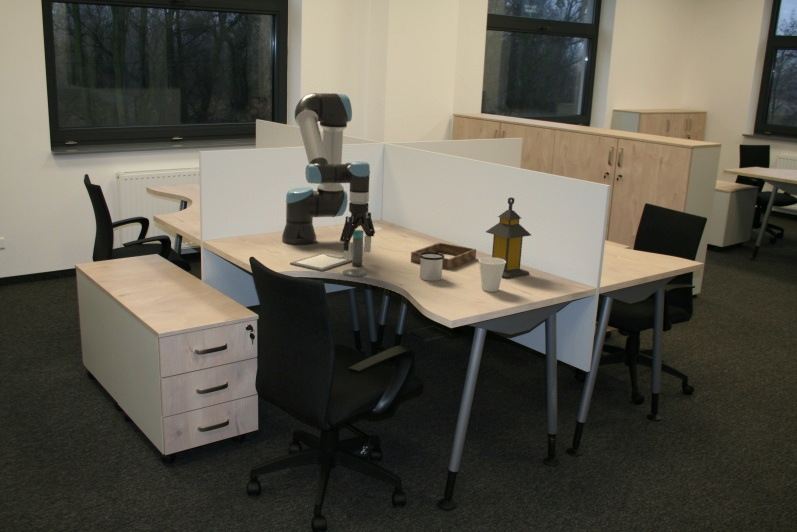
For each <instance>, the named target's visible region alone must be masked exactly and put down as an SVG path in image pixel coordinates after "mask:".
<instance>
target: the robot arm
mask: <svg viewBox="0 0 797 532" xmlns="http://www.w3.org/2000/svg"><path fill="white" fill-rule="evenodd" d="M352 109H353V107H352V103H351V100H350V98H349V97H348V95H346V94H342V93H336V92H335V93H334V92H333V93H327V92H324V93H323V92H321V93H319V92H318V93H317V92H311V93H308V94H306V95H305V96H303V97H302V98H300V100H299V101H298V103H297V105H296V106H295V109H294V120H295V121H294V122H295V124H296V126H298V127H299V131H300V134H301V138H302V143H303V146H304V150H305V153H306V157H307V162H308V164H307V165H306V166H305V179H306V182H307V183H308V184H318V185H317V188H316V189H317V190H314V188H312V187H305V186H304V187H303V186H302V187H297V188H292V189H290V190H288V191H287V192H286V194H285V195H286V196H285V197H286V198H285V204H286V205H285V206H286V207H285V208H286V209H285V214H286V215H285V226H284V229H283V233H282V235H281V240H282V242H283V243H286V244H290V245H310V244H314V243H316V242H317V235H316V231H315V228H314V223H313V222H314V221H313V219H314V218H335V217H336V218H337V217H341V216H343V215H344V214H345V212H346V211H347V206H349V207H348V211H349V213H350V216H345V222H344V225H343V228H342V232H341V235H340V237H339V241H340V242H342V243H343V257H344V258H346V259H350V260H352V259H351V258H352V256H351V254H352V253H351V252H352V242H350V241H351V240H352V239H353V233H354V231H355V230H357V229H358V228H359V227H361V228H362V231H363V233H365V235H364V236H363V252H364V253H368V254H369V253H370V254H371V251H372V250H371V249H372V244H371V243H372V237H375V234H376V230H375V227H374V223H373V220H372V212H369V207H370V206H369V201H370V175H371V171H370V170H371V169H370V168H371V167H370V164H369V163H368V162H366V161H352V162H345V163H343V162H342V159H343V158H342V157H343V140H344V130H345V129H346V128H347V127H348V123H349V122H351V121H352V117H353V110H352ZM318 122H319V124H318ZM319 126H320V128H322V132H323V133H322V135H321V131H320V128H319ZM342 184H349V203H348V193H347V191H346V190H344V188H345V187H344V186H343V185H342Z"/></svg>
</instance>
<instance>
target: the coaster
mask: <svg viewBox="0 0 797 532" xmlns="http://www.w3.org/2000/svg"><path fill="white" fill-rule="evenodd" d="M342 275H343V276H347V277H351V278H352V277H354V278H359V277H364V275H365V276H366V275H367V271H366V270H364V269H357V268H349V269H345V270H342Z"/></svg>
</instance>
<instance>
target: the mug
mask: <svg viewBox="0 0 797 532" xmlns="http://www.w3.org/2000/svg"><path fill="white" fill-rule="evenodd" d="M419 256H420V258H421V263H419V264H420V266H419V267H420V268H419V278H420V279H421V280H422V281H427V282H437V281H440V280H442V277H443V268H442V263H443V259H444V258H445V254H444V253H441V252H439V253H435V252H424V253H421V254H420V255H419Z"/></svg>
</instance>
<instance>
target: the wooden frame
mask: <svg viewBox="0 0 797 532" xmlns="http://www.w3.org/2000/svg"><path fill="white" fill-rule="evenodd" d="M424 252H435V253H440V254H447V255H452V256H453V257H451V258H447V257H446V258H445V257H444V259H443V263H442V269H444V270H451V269H454V268H457V267H459V266H461V265H463V264H466V263H468V262H470V261H473V260H475V259H476V258H477V257H476V256H477V249H476V248H471V247H465V246H460V245H456V244H449V243H444V242H437V243H433V244H432V245H429V246H425V247H422V248H420V249H416V250H414V251H411V253H410V262H411V263H416V264H420V263H421V258H420V256H419V255H420V254H421V253H424Z"/></svg>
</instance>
